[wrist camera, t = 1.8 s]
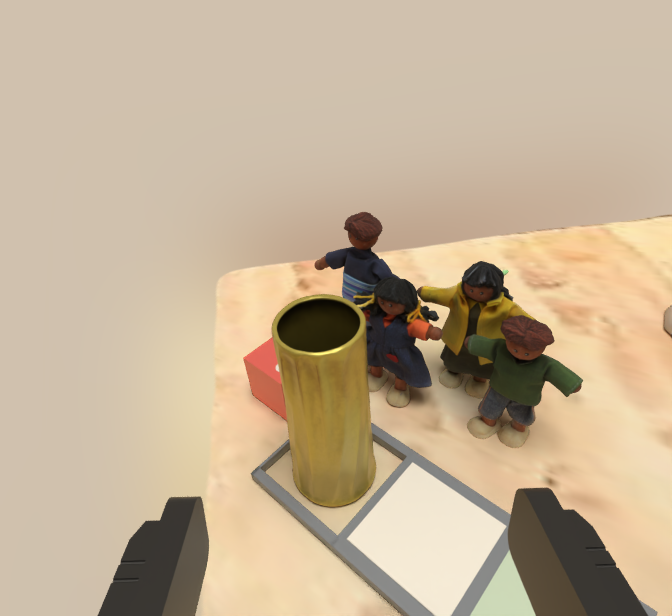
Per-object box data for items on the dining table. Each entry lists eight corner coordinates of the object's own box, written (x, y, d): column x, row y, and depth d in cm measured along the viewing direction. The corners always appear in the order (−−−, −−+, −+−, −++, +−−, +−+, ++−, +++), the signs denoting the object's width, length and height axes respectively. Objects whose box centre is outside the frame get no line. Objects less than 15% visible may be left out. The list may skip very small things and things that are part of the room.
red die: (290, 365, 44) (283, 328, 41) (325, 389, 41) (321, 351, 38) (252, 394, 41) (243, 357, 38) (288, 421, 39) (281, 384, 36)
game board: (335, 404, 40) (334, 397, 39) (652, 617, 26) (658, 611, 26) (252, 479, 35) (250, 472, 34) (593, 787, 22) (598, 784, 21)
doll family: (282, 373, 43) (258, 246, 35) (327, 314, 49) (316, 195, 41) (554, 464, 34) (609, 325, 26) (567, 378, 41) (615, 244, 32)
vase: (280, 495, 34) (244, 349, 25) (310, 426, 38) (288, 282, 29) (363, 518, 32) (356, 371, 23) (384, 443, 36) (385, 296, 27)
